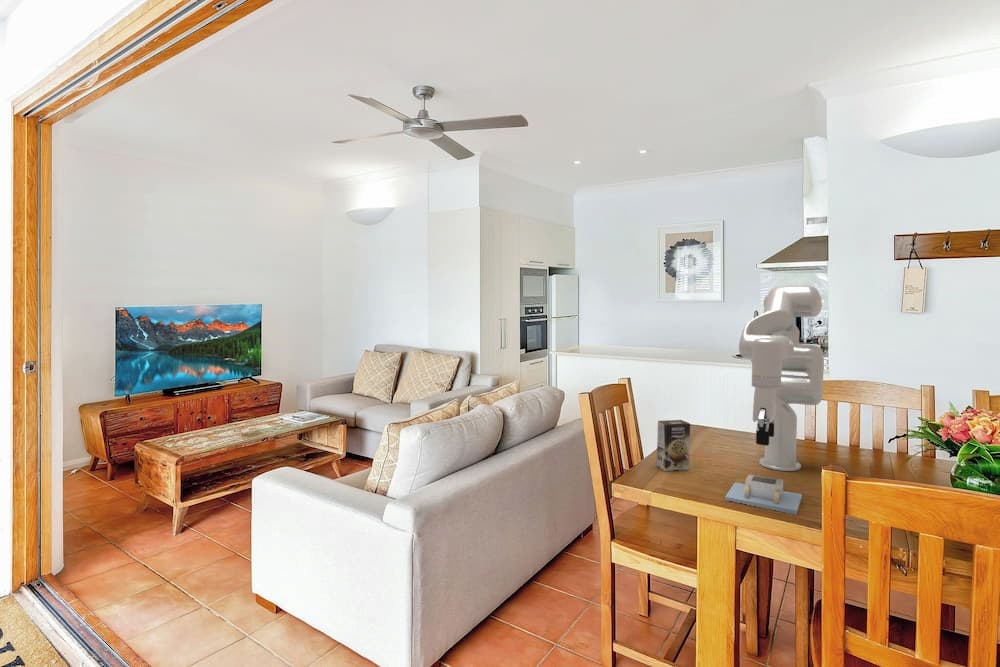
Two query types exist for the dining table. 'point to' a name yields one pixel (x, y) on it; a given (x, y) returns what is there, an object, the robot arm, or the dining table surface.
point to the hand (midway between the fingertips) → (765, 440)
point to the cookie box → (673, 445)
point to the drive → (764, 487)
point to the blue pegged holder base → (786, 504)
